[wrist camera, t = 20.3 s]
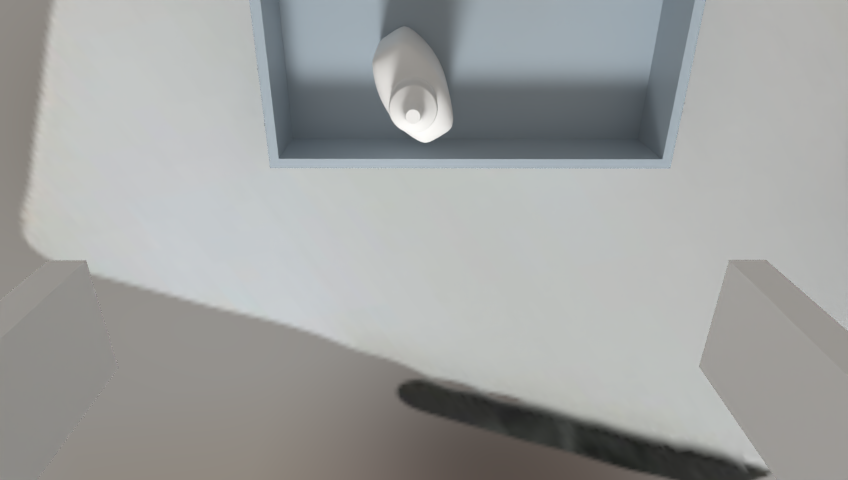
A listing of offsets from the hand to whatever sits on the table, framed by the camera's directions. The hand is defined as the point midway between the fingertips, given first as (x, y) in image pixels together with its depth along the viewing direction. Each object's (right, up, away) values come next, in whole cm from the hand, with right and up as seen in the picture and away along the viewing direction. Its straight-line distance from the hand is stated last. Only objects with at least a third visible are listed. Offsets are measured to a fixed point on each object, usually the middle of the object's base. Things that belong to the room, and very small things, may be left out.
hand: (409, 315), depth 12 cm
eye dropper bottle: (0, +13, +25) cm, 28 cm away
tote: (+3, +16, +24) cm, 29 cm away
